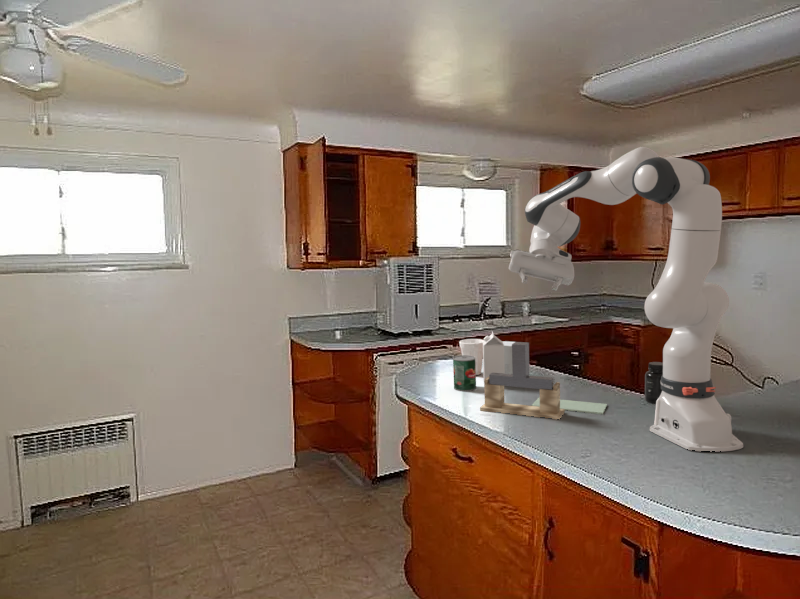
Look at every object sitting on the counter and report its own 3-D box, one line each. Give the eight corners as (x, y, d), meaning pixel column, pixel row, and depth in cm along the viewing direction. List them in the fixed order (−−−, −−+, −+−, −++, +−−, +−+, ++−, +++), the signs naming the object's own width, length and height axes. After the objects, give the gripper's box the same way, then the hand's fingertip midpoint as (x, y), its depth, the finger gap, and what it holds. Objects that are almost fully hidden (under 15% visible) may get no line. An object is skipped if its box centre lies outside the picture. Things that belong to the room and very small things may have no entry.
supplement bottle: (640, 399, 172) (640, 362, 171) (658, 397, 174) (658, 360, 173) (655, 405, 166) (655, 367, 165) (674, 403, 168) (674, 364, 166)
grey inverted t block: (554, 386, 162) (554, 343, 161) (551, 390, 159) (550, 346, 157) (493, 381, 171) (492, 340, 170) (488, 384, 168) (487, 343, 166)
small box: (502, 374, 212) (501, 340, 210) (518, 375, 209) (518, 341, 207) (496, 379, 205) (495, 344, 203) (512, 380, 202) (512, 345, 200)
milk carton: (503, 381, 201) (502, 330, 199) (505, 386, 194) (503, 333, 192) (483, 381, 201) (482, 331, 199) (484, 387, 194) (483, 334, 192)
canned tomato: (476, 391, 190) (475, 360, 189) (453, 391, 191) (452, 360, 190) (476, 385, 198) (475, 355, 196) (454, 385, 199) (453, 355, 198)
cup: (490, 375, 211) (490, 341, 209) (467, 378, 207) (466, 344, 205) (477, 369, 220) (476, 337, 218) (455, 373, 216) (454, 340, 215)
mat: (607, 405, 168) (607, 404, 168) (602, 414, 160) (602, 412, 160) (538, 398, 178) (538, 397, 178) (531, 406, 170) (531, 405, 170)
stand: (564, 412, 163) (564, 381, 162) (559, 419, 157) (559, 387, 156) (487, 404, 175) (486, 375, 174) (480, 410, 168) (479, 380, 167)
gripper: (513, 241, 176) (508, 270, 167) (576, 256, 174) (575, 286, 165) (508, 255, 180) (504, 284, 171) (570, 269, 179) (568, 300, 170)
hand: (539, 285), depth 168 cm, fingers open, 8 cm apart
